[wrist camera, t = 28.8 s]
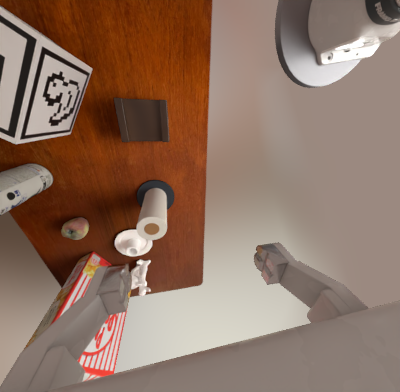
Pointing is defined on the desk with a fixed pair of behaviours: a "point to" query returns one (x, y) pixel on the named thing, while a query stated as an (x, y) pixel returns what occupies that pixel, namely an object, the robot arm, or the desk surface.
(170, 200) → the coaster
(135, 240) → the candle holder
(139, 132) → the cradle
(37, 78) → the block
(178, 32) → the desk surface
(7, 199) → the spray can
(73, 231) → the apple
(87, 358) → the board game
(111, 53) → the desk surface
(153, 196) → the paper towel roll
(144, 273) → the koala figurine
